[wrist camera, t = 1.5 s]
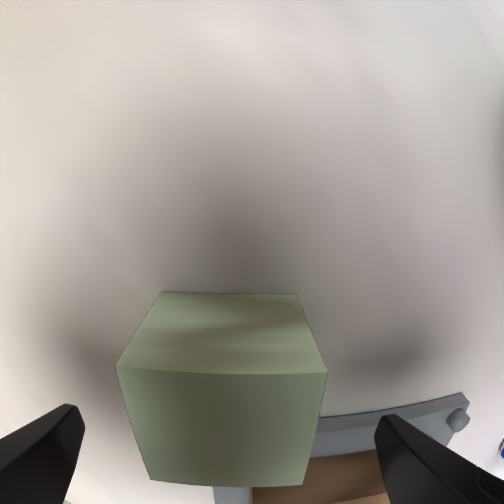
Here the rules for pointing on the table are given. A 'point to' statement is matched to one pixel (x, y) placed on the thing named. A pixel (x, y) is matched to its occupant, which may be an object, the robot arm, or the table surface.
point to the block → (224, 389)
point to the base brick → (331, 482)
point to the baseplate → (371, 433)
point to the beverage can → (502, 450)
